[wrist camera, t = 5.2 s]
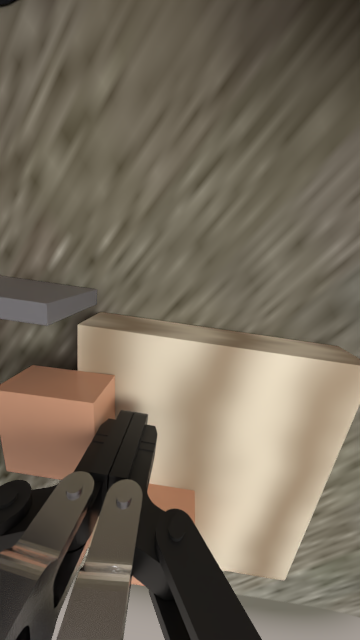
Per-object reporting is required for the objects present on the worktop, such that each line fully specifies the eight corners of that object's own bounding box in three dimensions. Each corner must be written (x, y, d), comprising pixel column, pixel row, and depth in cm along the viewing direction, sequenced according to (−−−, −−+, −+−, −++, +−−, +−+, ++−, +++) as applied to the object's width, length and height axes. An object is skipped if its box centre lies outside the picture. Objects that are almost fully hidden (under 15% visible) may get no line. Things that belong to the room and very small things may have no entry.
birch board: (337, 346, 14) (375, 367, 11) (270, 531, 19) (284, 580, 16) (100, 311, 14) (77, 324, 11) (94, 503, 19) (77, 545, 16)
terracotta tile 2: (194, 490, 14) (195, 537, 12) (184, 541, 15) (182, 592, 13) (121, 478, 14) (106, 523, 12) (117, 529, 16) (103, 579, 13)
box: (96, 289, 14) (46, 303, 9) (91, 514, 20) (57, 596, 15) (-53, 268, 14) (-180, 271, 9) (-16, 496, 20) (-83, 572, 15)
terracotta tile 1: (114, 375, 12) (93, 403, 10) (115, 445, 13) (96, 485, 11) (32, 365, 12) (-8, 389, 10) (40, 434, 14) (6, 470, 11)
